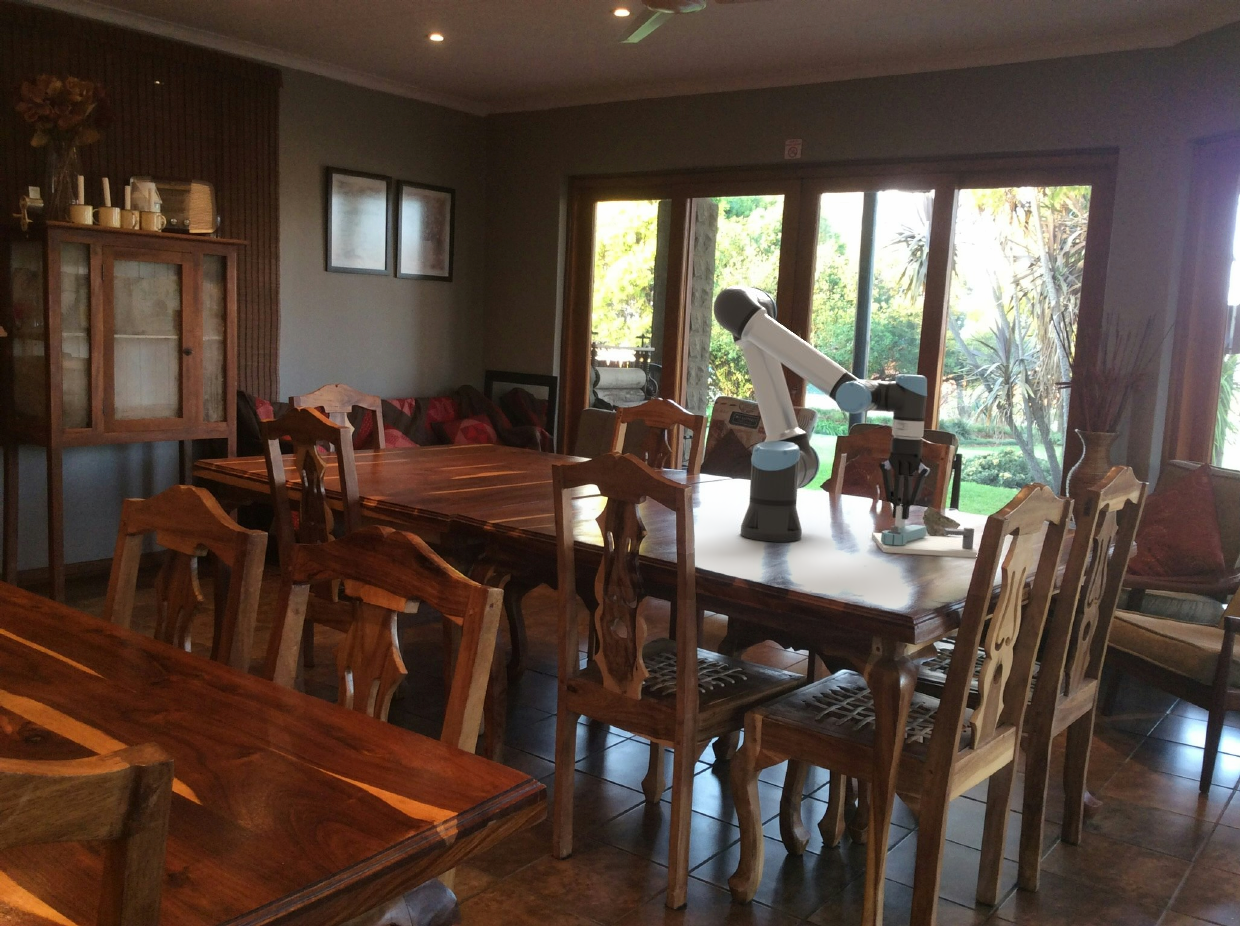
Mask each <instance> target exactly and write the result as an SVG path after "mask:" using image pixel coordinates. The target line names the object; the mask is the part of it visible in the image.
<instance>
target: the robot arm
mask: <svg viewBox="0 0 1240 926" xmlns="http://www.w3.org/2000/svg"><path fill="white" fill-rule="evenodd" d="M713 314H714V318H715V320H716V322H717V323H718V324H719V325H720V327H722V328H723V329H724V330H725V331H727V332H729V333H731V335H732V339H733V343H734V345H735V346H737V347H739V348H741V349H742V352H743V353H742V354H743V357H744V360H745V363H746V368H747V370H748V373H749V377H750V381H751V384H752V388H753V389H752V390H753V393H754V396H755V399H756V402H757V406H758V410H759V413H760V416H761V420H762V423H763V428H764V432H765V435H766V438H765V440H764V441H762V442H759V443H757V444H755V445H754V446H753V448H752V455H751V458H750V461H751V469H750V483H749V484H750V486H749V502H748V503H749V504H748V507H747V509H746V512H745V515H744V518H743V519H742V521H741V522H742V523H741V525H740V535H741V536H742V537H743V538H746V539H751V540H757V541H764V542H776V543H778V542H779V543H786V542H796V541H800V540H802V533H803V532H802V531H803V530H802V529H803V528H802V525H801V522H800V521H801V520H800V517H799V514H798V510H797V497H798V489H801V488H804V487H807V486H808V485H809V484H810V483H812V482H813V481H814V479H816V477H817V475H818V473H819V470H820V466H821V465H820V464H821V463H820V457H819V453H818V452H817V450H816V449H815V448H814V447H813V446H811V444H810V441H809V438H808V433H807V432H806V431H805V430H803V429H801V428H800V426H799V423H798V421H797V416H796V413H795V410H794V405H793V402H792V399H791V396H790V395H791V394H790V391H789V387H788V385H787V380H786V377H785V374H784V370H783V366H782V364H783V365H784V366H785V367H787V368H788V369H789V370H791V371H792V372H793V373H795V374H796V375H798V376H800V377H801V378H802V379H803V380H804V381H807V383H809V384H811V385H812V386H813V387H814V388H817V389H818V390H819V391H821V392H822V393H823V394H824V395H826V396H828V397H829V398H831V399H832V400H833V401H834V402H835V403H836V404H837V406H838V408H839V409H841V410H842V411H843V412H845V413H847V414H852V415H853V414H860V413H863V412H864V413H865V412H870V411H873V412H874V411H875V412H886V413H892V415H893V417H892V429H891V430H892V431H891V435H892V436H893V437H891V440H890V449H889V450H890V454H889V456H888V459H887V460H886V461H884V462H880V463H879V465H878V467H879V469H880V470H881V473H882V479H883V486H884V487H883V488H884V493H885V501H886V502H888V503H890V504H892V515H891V516H892V518H893V519H895V520H894V526H898V527H899V528H903V527H906V526H905V525H906V520H909V518H910V508H911V506H915V505H917V504H918V503H919V500H920V497H921V494H922V492H923V488H924V485H925V483H926V480H927V477H928V476H929V474H930V473H931V471H932V470H931V468H930V467H927V466H925V464H924V463H923V462H924V461H923V459H922V453H923V445H924V443H923V441H924V440H923V439H921V438H923V437H924V433H925V432H924V430H925V419H926V408H927V407H926V406H927V398H928V379H927V377H926V376H924V375H920V374H906V373H905V374H903V373H902V374H901V373H899V374H897V375H896V377H895V381H886V380H885V381H883V380H871V379H865V378H863V379H862V378H858V377H856V375H854V374H852V373H850V372H849V371H848V370H847V369H845V368H844V367H842V366H841V365H839V364H838V363H836V362H835V361H834V360H832V359H831V358H830V357H828V356H827V355H826V354H824V353H822V352H821V351H819V350H818V349H817V348H815V347H813V346H812V345H811V344H809V343H808V342H807V341H805V340H803V339H802V338H801V337H799V336H798V335H796V334H795V333H793V332H792V331H791V330H789V329H787V328H786V327H785V326H784V325H782V323H781V324H780V323H779V322H778V321H777V320H776V319H777V315H778V308H777V305H776V302H775V300H774V298H773V297H772V296H771V294H769V293H768V292H767V291H765V290H763V289H761V288H760V287H754V286H744V285H730V286H728V287H726V288H724V289H722V290H721V291H720V292H719V293H718V294H717V296H716V297H715V300H714V303H713ZM891 468H892V470H893V475H892V471H891ZM917 471H918V475H917V477H916V480H915V483H914V487H913V482H914V478H915V474H916V472H917ZM892 476H893V477H892ZM893 478H894V480H893ZM893 481H894V482H893ZM899 528H898V529H899Z"/></svg>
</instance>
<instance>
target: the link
mask: <svg viewBox="0 0 1240 926" xmlns="http://www.w3.org/2000/svg"><path fill="white" fill-rule="evenodd" d="M926 529H927V527H926V526H924V525H920V524H919V525H918V524H911V525H907V526H905V527H903V528H899V529H898V534H892V533H890V531H891V529H890V530H889V529H888V530H887V529H886V530H882V531H881V533H882V534H881V542H882V543H885V544H890V545H905V544H906V542H908V541H912V540H915V539H919V538H922V537H925V536H927V530H926Z"/></svg>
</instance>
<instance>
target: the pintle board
mask: <svg viewBox="0 0 1240 926" xmlns="http://www.w3.org/2000/svg"><path fill="white" fill-rule="evenodd" d="M898 528H899V527H898V526H895V525H890V530H891V531H890V533H892V534H898ZM871 533H872V534H871V538H872V540H873V541H874V542H875V543H876V545H877V546H878V547H879V548H880V549H881V550H882V552H883V553H890V554H893V553H894V554H907V555H924V556H938V557H939V556H940V557H941V556H942V557H959V558H974V559H975V558H976V555H977V553H979V552H978V551H977V550H976V549H975V548H973V547H974V538H975V537H974V536H975V534H974V533H975V529H974V528H973V527H963V528H962V529H961V528H957V529H949V528H944V533H945V534H946V535H948V536H946V537H939V536H930V535H926V536H925V537H922V538H919V539H915V540H912V541H908V542H906V544H905V545H890V544H885V543H882V542H881V534H882V532H871ZM949 535H950V536H949ZM953 536H955V537H953ZM956 536H962V538H961V537H956Z"/></svg>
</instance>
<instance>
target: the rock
mask: <svg viewBox="0 0 1240 926" xmlns="http://www.w3.org/2000/svg"><path fill="white" fill-rule="evenodd" d="M922 521H923V525H925V526H926V527H927V529H926V534H928V536H939V537H949V535H946V534H945V533H944V528H949V529H959V527H960V526H961V523H959V522H957V521H956V520H954V519H952V518H951V517H949V516H946V515H943V514H941V512H939V511H938V510H935V509H934V507H932V506H931V505H930V504H928V505H927V508H926V510H924V511H923V516H922Z"/></svg>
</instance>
